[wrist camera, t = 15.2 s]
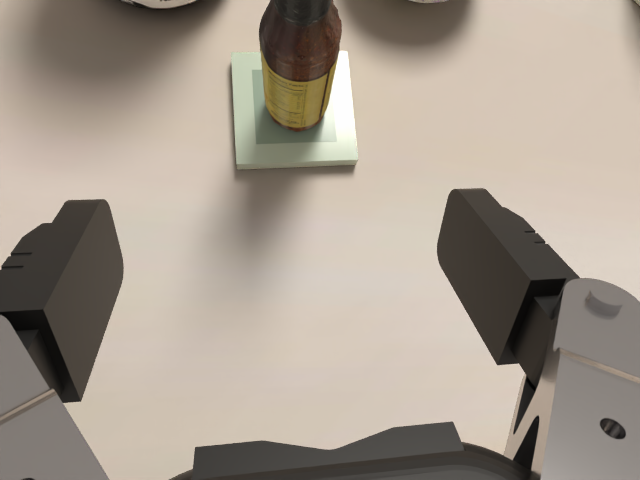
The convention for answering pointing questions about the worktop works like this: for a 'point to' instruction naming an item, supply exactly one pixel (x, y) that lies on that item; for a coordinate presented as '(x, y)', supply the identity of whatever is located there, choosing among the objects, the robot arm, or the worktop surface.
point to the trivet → (280, 143)
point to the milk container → (159, 3)
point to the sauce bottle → (299, 60)
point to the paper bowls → (428, 1)
